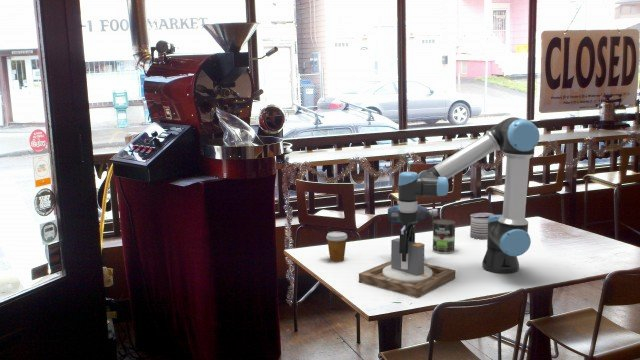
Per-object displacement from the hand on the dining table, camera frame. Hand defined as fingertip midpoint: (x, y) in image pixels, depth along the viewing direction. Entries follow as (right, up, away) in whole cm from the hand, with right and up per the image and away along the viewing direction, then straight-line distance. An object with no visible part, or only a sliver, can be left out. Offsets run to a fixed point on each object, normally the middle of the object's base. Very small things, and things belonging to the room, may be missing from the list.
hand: (407, 266), depth 255 cm
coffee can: (+23, +2, +40) cm, 46 cm away
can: (+46, +6, +63) cm, 79 cm away
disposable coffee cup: (-28, -1, +29) cm, 40 cm away
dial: (0, -4, +1) cm, 4 cm away
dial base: (0, -6, +1) cm, 6 cm away
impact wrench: (+6, -1, +28) cm, 29 cm away
